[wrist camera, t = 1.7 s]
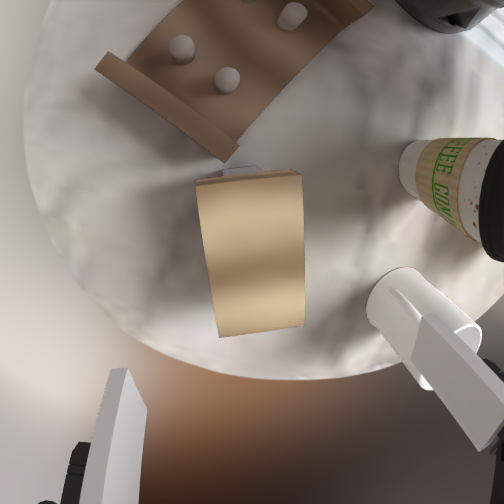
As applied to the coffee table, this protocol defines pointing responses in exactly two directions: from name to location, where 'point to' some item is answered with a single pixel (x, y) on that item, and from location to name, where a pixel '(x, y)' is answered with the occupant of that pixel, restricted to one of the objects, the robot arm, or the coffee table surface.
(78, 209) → the coffee table surface
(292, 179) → the board
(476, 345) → the mug
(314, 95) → the coffee table surface
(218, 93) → the cradle
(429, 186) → the coffee cup
